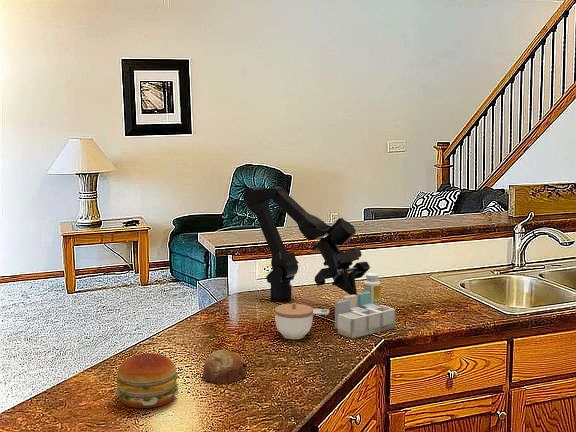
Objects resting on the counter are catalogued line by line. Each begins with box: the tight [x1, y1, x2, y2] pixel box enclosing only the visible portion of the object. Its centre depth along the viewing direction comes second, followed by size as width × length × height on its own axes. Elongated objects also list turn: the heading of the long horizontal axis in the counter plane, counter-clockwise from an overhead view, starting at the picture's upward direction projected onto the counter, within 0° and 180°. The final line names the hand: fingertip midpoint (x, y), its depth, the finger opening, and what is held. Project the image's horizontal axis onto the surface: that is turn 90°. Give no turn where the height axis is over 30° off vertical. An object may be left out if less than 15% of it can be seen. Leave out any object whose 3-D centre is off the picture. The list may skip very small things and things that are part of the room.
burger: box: [114, 352, 179, 409], centre depth 152 cm, size 14×14×10 cm
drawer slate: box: [334, 299, 360, 330], centre depth 199 cm, size 7×4×8 cm, turn 38°
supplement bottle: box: [363, 272, 381, 306], centre depth 230 cm, size 5×5×10 cm
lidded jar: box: [274, 302, 314, 340], centre depth 196 cm, size 11×11×9 cm
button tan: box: [342, 294, 369, 315], centre depth 205 cm, size 7×4×8 cm, turn 38°
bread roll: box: [202, 349, 248, 384], centre depth 167 cm, size 10×10×8 cm
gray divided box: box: [337, 304, 397, 339], centre depth 202 cm, size 6×17×6 cm, turn 127°
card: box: [313, 308, 330, 316], centre depth 220 cm, size 8×5×1 cm, turn 83°
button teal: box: [357, 291, 383, 311], centre depth 208 cm, size 7×4×8 cm, turn 38°
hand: (355, 296), depth 213 cm, fingers closed
